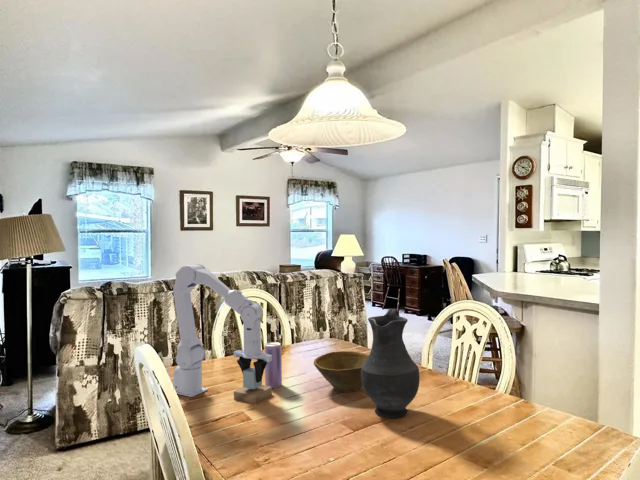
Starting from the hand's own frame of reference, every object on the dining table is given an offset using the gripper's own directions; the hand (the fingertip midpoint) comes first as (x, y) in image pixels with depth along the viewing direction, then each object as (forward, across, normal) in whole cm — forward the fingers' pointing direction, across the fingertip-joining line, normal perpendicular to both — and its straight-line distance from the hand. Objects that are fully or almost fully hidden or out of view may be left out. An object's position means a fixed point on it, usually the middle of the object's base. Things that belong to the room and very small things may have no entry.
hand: (252, 380), depth 146 cm
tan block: (+6, 0, 0) cm, 6 cm away
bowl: (+6, +24, +22) cm, 33 cm away
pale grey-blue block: (+2, 0, 0) cm, 2 cm away
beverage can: (+6, 0, +12) cm, 13 cm away
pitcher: (+6, +45, +10) cm, 46 cm away
